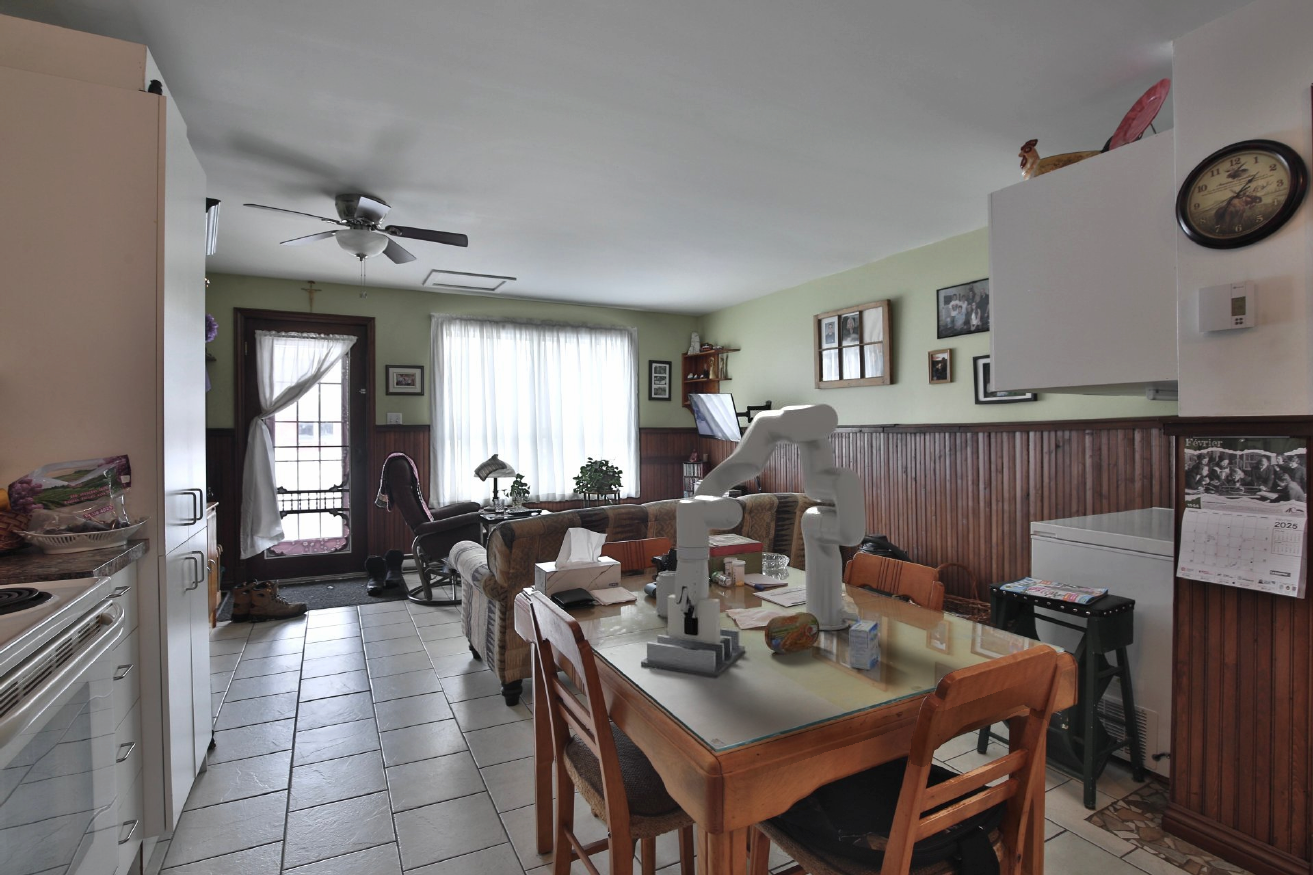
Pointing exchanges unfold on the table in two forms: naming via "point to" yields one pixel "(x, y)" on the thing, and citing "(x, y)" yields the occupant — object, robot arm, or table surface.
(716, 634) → the cream white block
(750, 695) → the table surface
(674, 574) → the can
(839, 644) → the table surface
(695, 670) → the dish rack
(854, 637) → the medicine box
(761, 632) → the table surface
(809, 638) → the tin
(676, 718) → the table surface
